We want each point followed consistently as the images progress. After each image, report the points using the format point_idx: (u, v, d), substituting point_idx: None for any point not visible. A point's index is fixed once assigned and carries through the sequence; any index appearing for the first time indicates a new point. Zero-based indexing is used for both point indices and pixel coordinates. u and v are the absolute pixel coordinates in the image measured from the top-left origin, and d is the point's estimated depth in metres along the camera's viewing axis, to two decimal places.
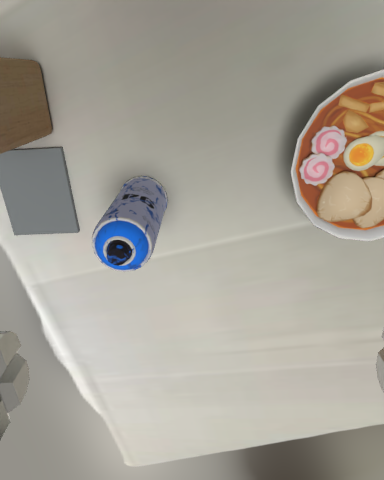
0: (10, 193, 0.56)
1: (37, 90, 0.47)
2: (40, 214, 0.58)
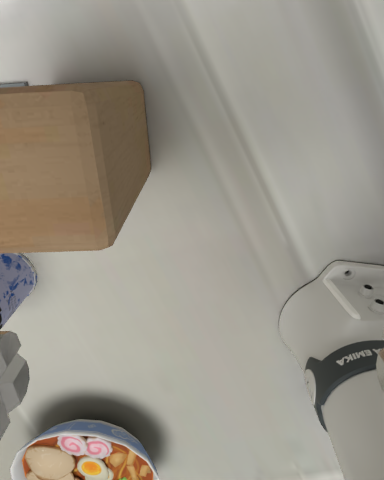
0: None
1: None
2: None
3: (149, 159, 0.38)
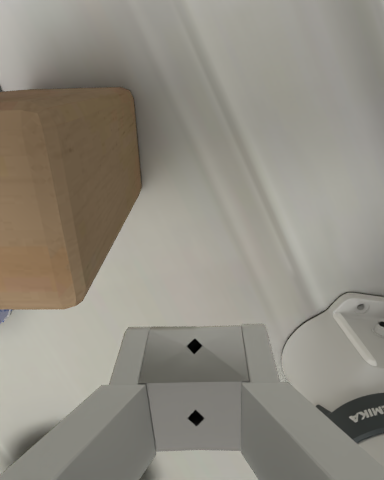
0: None
1: None
2: None
3: (139, 177, 0.33)
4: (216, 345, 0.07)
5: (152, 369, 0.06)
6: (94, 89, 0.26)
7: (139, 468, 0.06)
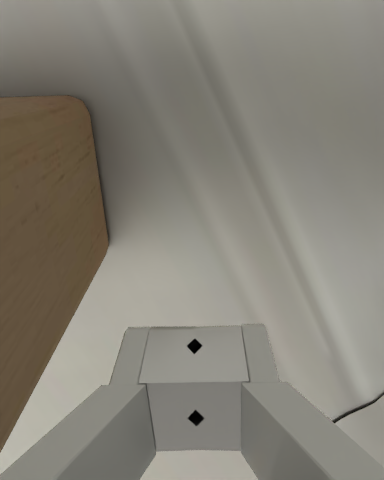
0: None
1: None
2: None
3: (104, 231, 0.22)
4: (216, 345, 0.07)
5: (152, 369, 0.06)
6: (4, 102, 0.14)
7: (139, 468, 0.06)
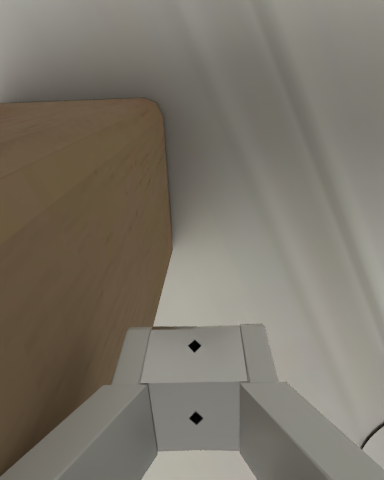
0: None
1: None
2: None
3: (170, 236, 0.21)
4: (215, 345, 0.07)
5: (154, 369, 0.06)
6: (96, 106, 0.14)
7: (141, 468, 0.06)
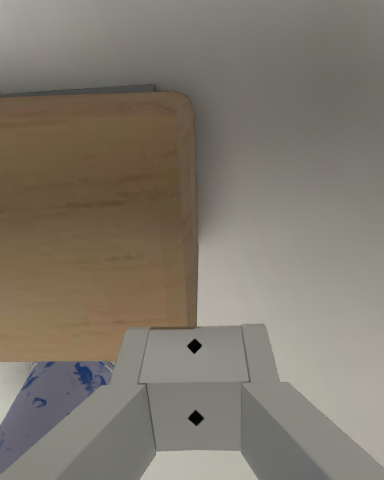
0: None
1: None
2: None
3: None
4: (216, 345, 0.07)
5: (152, 369, 0.06)
6: (11, 105, 0.12)
7: (140, 468, 0.06)
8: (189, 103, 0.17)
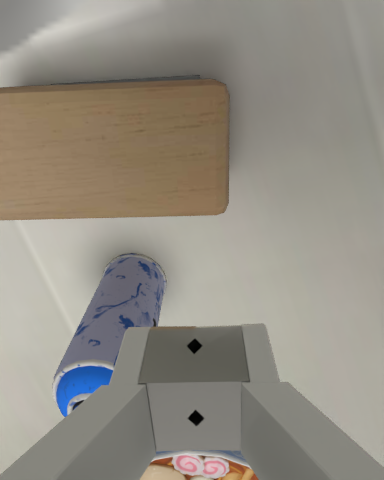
0: None
1: None
2: None
3: (210, 194, 0.27)
4: (216, 345, 0.07)
5: (152, 369, 0.06)
6: None
7: (140, 468, 0.06)
8: None
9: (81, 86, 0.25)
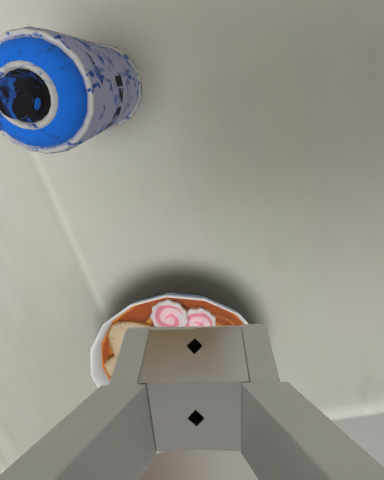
0: None
1: None
2: None
3: None
4: (216, 345, 0.07)
5: (152, 369, 0.06)
6: None
7: (139, 468, 0.06)
8: None
9: None
